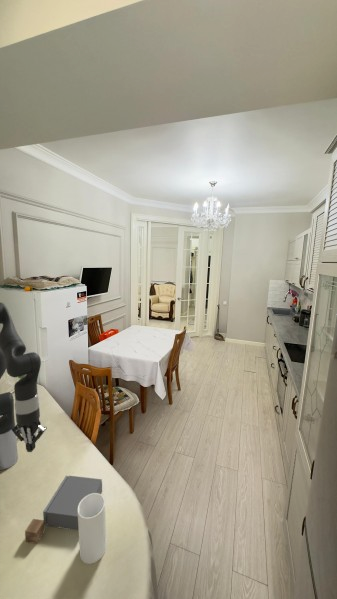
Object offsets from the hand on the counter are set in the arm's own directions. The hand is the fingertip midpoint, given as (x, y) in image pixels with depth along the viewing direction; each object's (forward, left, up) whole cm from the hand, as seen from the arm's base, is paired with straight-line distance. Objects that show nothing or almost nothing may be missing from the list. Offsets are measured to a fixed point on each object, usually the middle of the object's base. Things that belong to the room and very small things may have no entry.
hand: (31, 450), depth 91 cm
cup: (+29, -12, -22) cm, 38 cm away
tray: (+16, 0, -22) cm, 27 cm away
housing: (+17, 0, -22) cm, 28 cm away
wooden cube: (+8, -11, -22) cm, 26 cm away
